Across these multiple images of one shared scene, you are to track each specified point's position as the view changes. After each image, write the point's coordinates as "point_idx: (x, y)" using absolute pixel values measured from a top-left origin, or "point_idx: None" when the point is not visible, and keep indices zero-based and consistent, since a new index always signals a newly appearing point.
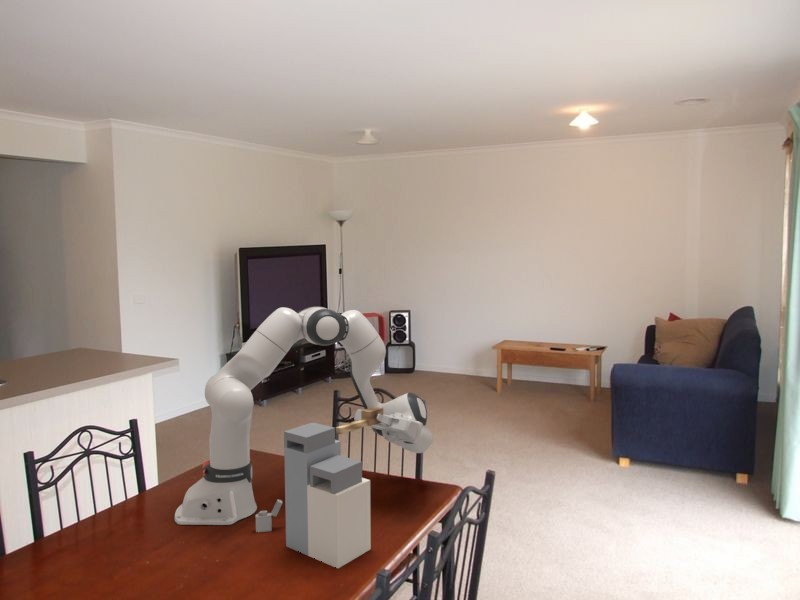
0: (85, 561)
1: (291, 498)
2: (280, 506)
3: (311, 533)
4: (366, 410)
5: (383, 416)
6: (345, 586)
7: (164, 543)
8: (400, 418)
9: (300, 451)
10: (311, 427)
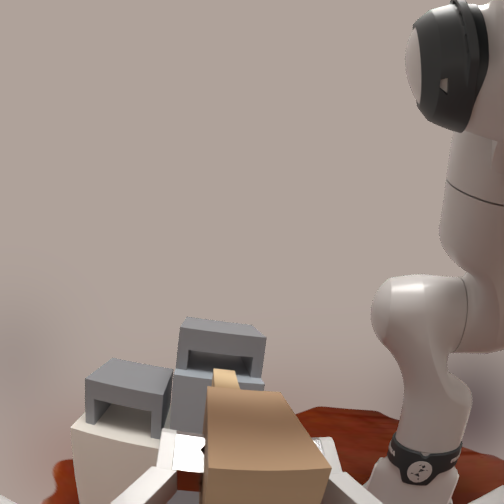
0: (339, 426)
1: None
2: None
3: None
4: (257, 398)
5: (150, 471)
6: None
7: (340, 456)
8: (2, 497)
9: (201, 351)
10: (231, 329)
